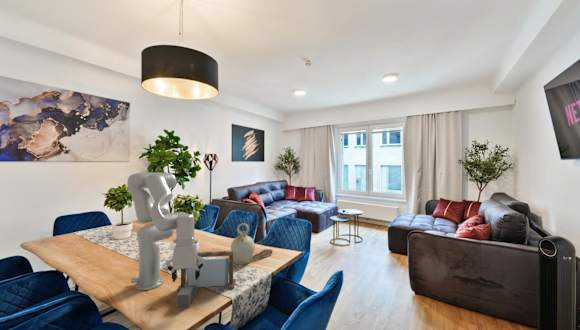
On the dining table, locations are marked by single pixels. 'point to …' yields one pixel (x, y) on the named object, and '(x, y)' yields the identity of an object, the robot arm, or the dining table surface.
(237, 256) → the jug
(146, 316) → the dining table surface
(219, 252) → the door frame
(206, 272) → the grey door panel
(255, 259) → the wooden fragment
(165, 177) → the robot arm
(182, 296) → the doorstop
